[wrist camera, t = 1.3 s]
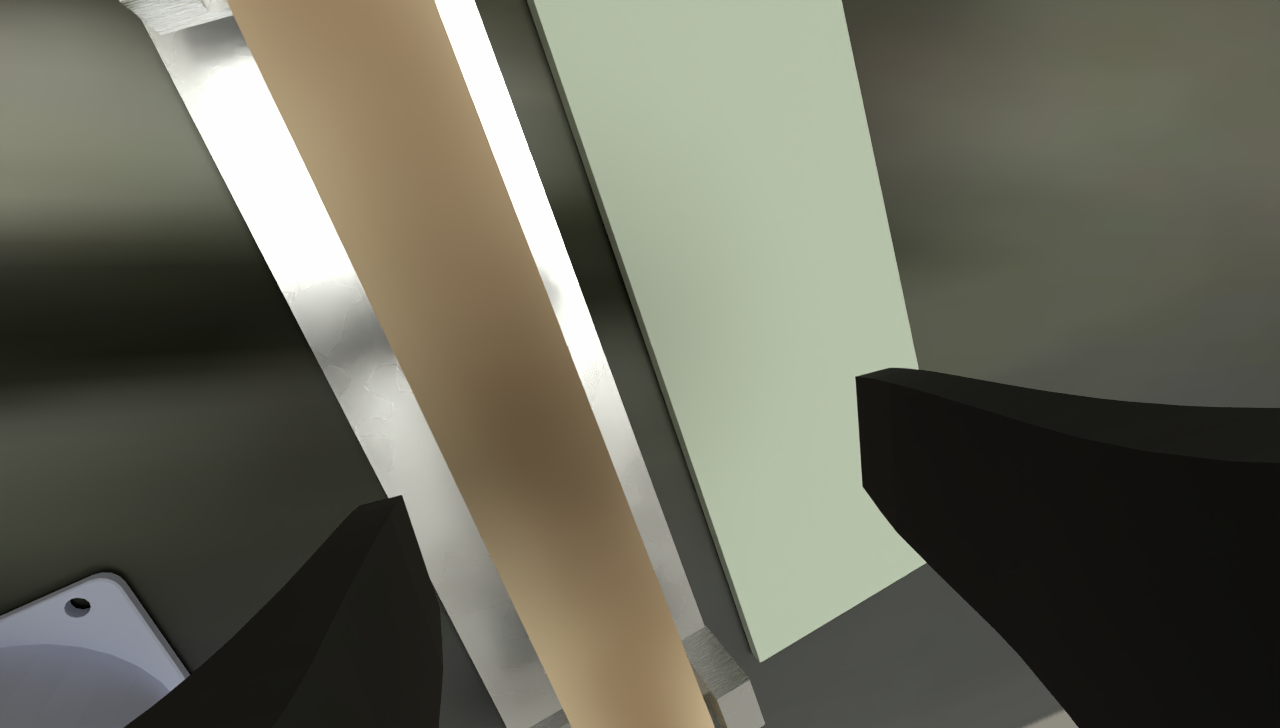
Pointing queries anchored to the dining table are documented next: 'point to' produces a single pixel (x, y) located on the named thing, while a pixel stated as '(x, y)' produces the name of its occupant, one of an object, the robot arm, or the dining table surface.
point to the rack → (368, 369)
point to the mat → (749, 274)
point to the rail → (477, 341)
